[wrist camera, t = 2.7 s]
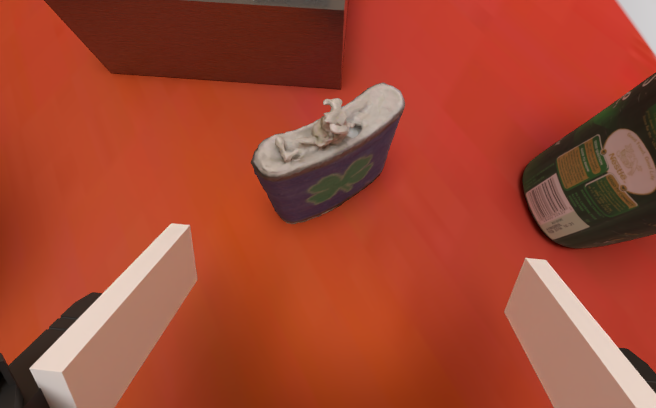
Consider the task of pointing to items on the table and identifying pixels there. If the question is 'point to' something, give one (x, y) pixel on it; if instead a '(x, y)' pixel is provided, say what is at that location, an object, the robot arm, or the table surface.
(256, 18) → the open box
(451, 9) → the table surface
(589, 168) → the coffee jar
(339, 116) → the flask
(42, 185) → the table surface
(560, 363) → the robot arm
